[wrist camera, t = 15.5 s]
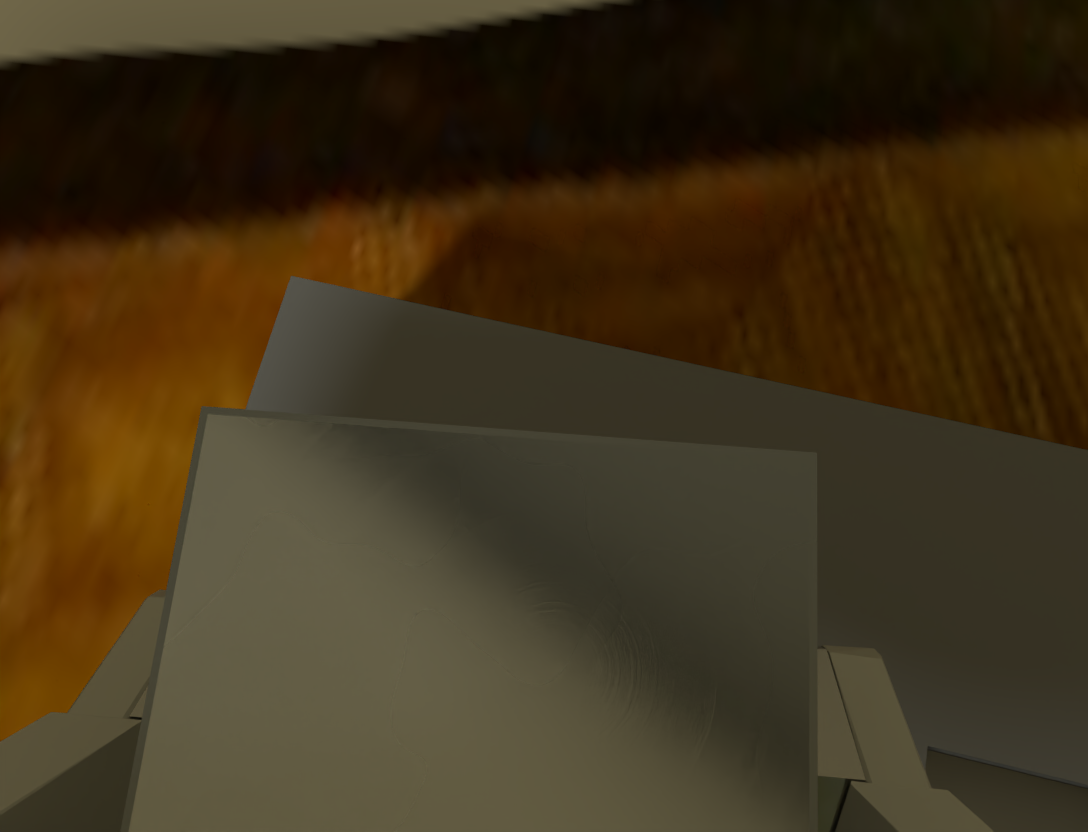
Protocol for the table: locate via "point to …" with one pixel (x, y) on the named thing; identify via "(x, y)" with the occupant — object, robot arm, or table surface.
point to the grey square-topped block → (482, 634)
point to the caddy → (842, 516)
